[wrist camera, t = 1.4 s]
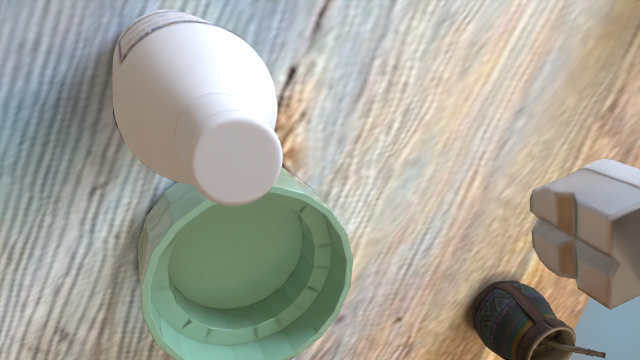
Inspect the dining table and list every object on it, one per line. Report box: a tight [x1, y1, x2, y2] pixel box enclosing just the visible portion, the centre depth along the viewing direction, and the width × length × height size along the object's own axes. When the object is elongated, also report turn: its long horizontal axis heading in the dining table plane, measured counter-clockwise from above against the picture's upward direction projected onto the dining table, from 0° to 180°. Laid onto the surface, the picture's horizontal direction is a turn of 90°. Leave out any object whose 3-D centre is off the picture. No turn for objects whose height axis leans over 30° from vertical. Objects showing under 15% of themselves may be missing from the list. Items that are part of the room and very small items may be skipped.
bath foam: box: [113, 10, 282, 206], centre depth 24 cm, size 7×7×20 cm
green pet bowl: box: [137, 167, 353, 360], centre depth 36 cm, size 14×14×6 cm
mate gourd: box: [473, 281, 606, 360], centre depth 47 cm, size 7×8×10 cm
